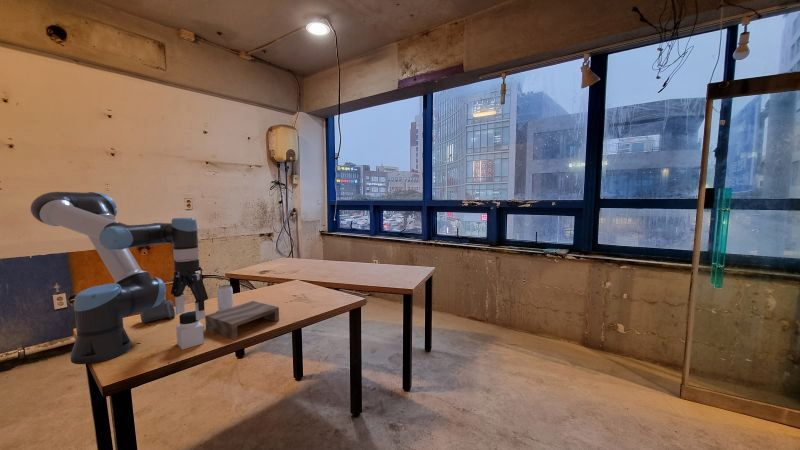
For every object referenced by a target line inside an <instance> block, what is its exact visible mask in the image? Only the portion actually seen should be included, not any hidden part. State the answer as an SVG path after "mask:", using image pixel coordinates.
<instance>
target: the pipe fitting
mask: <svg viewBox="0 0 800 450" xmlns="http://www.w3.org/2000/svg"><path fill="white" fill-rule="evenodd" d="M139 316H140V321H141V323H143V324H147V323H150V322H151V323H152V322H153V321H156V320H159V319H164V318H168V319H171V318H172V319H173V318H175V317H176V309H175V306H174V303H173V301H172V300H171V299H168V300H167V297H166V296H165V298H164V300H163V302H162V303H161V304H160V305H158V306H156V307H153V308H151V309H149V310H145V311H142V312H139Z"/></svg>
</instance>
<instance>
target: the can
mask: <svg viewBox="0 0 800 450" xmlns="http://www.w3.org/2000/svg"><path fill="white" fill-rule="evenodd" d="M216 293H217V312H219V311H222V310H225V309H228V308H232V307H234V293H233V287H232V285H231V284H225V285H220V286H218V288H217V292H216Z"/></svg>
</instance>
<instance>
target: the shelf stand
mask: <svg viewBox="0 0 800 450" xmlns="http://www.w3.org/2000/svg"><path fill="white" fill-rule="evenodd" d="M260 318H261V319H265V320H268V321H272V322H275V323H276V322H279V320H280V307H279V306H275V305H272V304H267V303H262V302H258V301H254V300H251V301H248V302H244V303H241V304H238V305H236V306H233V307H232V308H228V309H225V310H222V311H217V312H213V313H209V314H207V315H206V314H205V318H204V319H205V321H204V322H205V330H206V331H208V332H211V333H214V334H216V335H220V336H223V337H226V338H228V339H230V340H234V339H236V338H238V326H240V325H243V324H246V323H249V322H251V321H255V320H257V319H260Z"/></svg>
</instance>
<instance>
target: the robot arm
mask: <svg viewBox="0 0 800 450" xmlns="http://www.w3.org/2000/svg"><path fill="white" fill-rule="evenodd" d="M30 213H31V215H32V216H33V218H35V220H37V221H38V222H40V223H42V224H45V225H48V226H51V227H63V228H66V229H69V230H71V231H74V232H76V233H80V234H82V235H85V236H87V237H88V238H89V240H90V242H91V243H92V246H93V247H94V249H95V250H96V252H97V254H98V255H99V257H100V258H101V260H102V262H103V263H104V265H105V267H106V268H107V269H106V270H108V272H109V273H110V275H111V277H112V279H113V280H114V283H112V282H111V283H104V284H102V285H101V284H100V285H95V286H94V285H93V286H91V287H89V288H86V289H83V290H81V291H79V292H78V293H77V294H76V295H75V296H74V304H73V310H74V318H75V330H76V331H75V332H76V338H75V341H74V345H73V347H72V349H71V353H70V362H71V363H72V364H74V365H88V364H94V363H95V364H96V363H99V362H103V361H107V360H109V359H110V360H111V359H113V358H117V357H118V356H121V355H123V354H125V353H127V352H128V351H130V349H131V348H132V342H131V338H130V336H129V335H128V333H127V332H126V330H125V328H124V318H125V317H129V316H133V315H136V314H138V313H139V314H140V312H142V311H145V310H149V309H151V308H153V307H156V306H158V305H160V304H161V303H162V302H163V300H164V298H165V297H166V293H167V289H166V284H165V282H164V281H163V280H162V279H161V278H159V277H152V276H151V273H149V271H148V270H147V271H146V270H142V269H141V267H140V265H139V264H138V262H137V260H136V258H135V257H134V255H133V253H132V252H131V251H130V249H131V248H137V247H138V248H139V247H143V246H144V247H146V246H152V245H161V244H172V247H173V249H172V250H173V252H172V253H173V260H174V262H173V263H174V265H173V266H174V272H173V275H174V276H173V280H172V285H171V290H170V294H171V295H173V297H174V302H175V303H174V304H175V306H174V308H175V315H181V314H182V313H184V312H186V311H185V309H186V308H185V296H184V295H185V293H184V291H185V290H186V288H187V287H188V288H189V289H190V291H191V293H192V295H193V297H194V299H195V301H194V306H195V307H194V309H195V310H194V311H196V320H199V321H200V320H203V319H205V316H206V310H205V301H208V300H209V296H208V292H207V290H206V287H205V284H204V281H203V276H202V273H197V272H196V271H197V270H199V269H200V259H199V257H200V256H199V251H200V250H199V240H198V231H199V229H198V224H197V223H198V222H197V219H196V218H195V217H175V218H172V219H171V222H170V223H169V222H168V223H166V222H152V223H147V224H146V223H145V224H126V223H123V222H119V221H117V220H116V216H117V214H118V210H117V204H116V202H115V201H114V199H113V198H112V197H111V196H109V195H107V194H105V193H101V192H93V191H89V192H80V191H78V192H75V191H50V192H46V193H43V194H41V195H39V196H37V197H35V199H33V201H32V202H31V205H30Z"/></svg>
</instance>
